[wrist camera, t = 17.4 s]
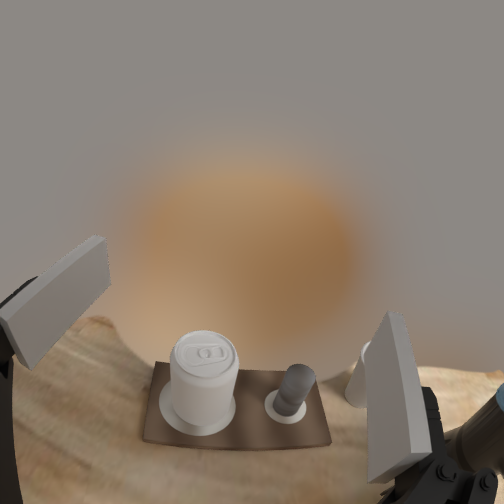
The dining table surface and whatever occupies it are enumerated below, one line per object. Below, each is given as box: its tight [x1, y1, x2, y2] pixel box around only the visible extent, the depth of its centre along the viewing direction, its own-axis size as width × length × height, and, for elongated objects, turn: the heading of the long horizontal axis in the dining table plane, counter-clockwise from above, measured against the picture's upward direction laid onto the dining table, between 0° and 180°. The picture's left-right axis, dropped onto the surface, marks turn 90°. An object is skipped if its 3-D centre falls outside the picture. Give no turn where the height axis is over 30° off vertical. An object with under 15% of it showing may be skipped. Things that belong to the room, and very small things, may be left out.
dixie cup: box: [345, 341, 371, 408], centre depth 42 cm, size 8×8×10 cm
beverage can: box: [170, 330, 239, 426], centre depth 35 cm, size 8×8×12 cm
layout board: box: [143, 361, 332, 451], centre depth 37 cm, size 26×14×9 cm, turn 94°
